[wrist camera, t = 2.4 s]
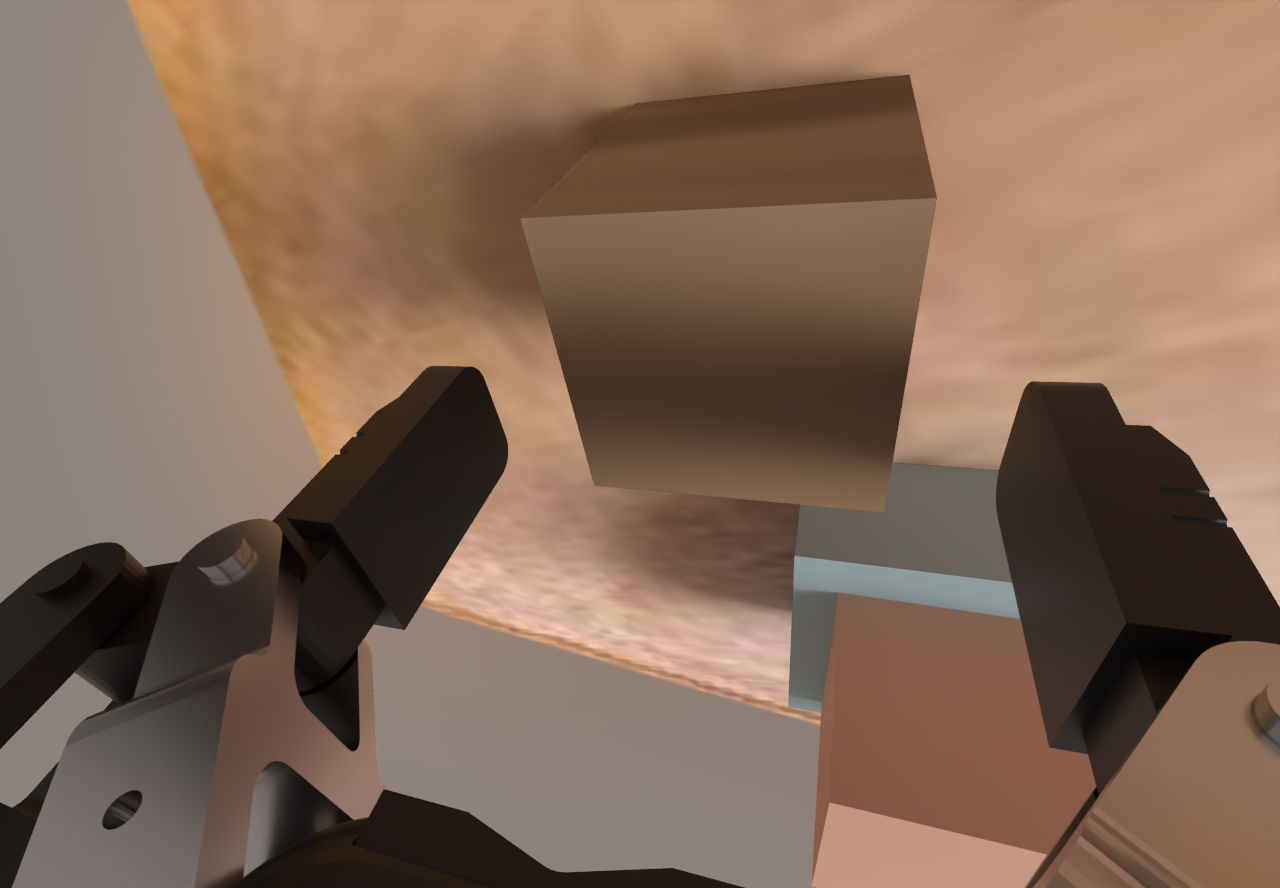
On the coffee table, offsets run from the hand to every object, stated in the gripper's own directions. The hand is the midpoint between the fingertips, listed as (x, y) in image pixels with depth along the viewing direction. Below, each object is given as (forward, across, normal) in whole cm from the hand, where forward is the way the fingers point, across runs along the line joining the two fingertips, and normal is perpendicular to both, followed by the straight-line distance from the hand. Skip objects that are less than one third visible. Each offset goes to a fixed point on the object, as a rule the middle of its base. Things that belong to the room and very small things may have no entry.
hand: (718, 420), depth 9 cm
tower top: (+3, -5, +11) cm, 12 cm away
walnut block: (+6, 0, -1) cm, 6 cm away
